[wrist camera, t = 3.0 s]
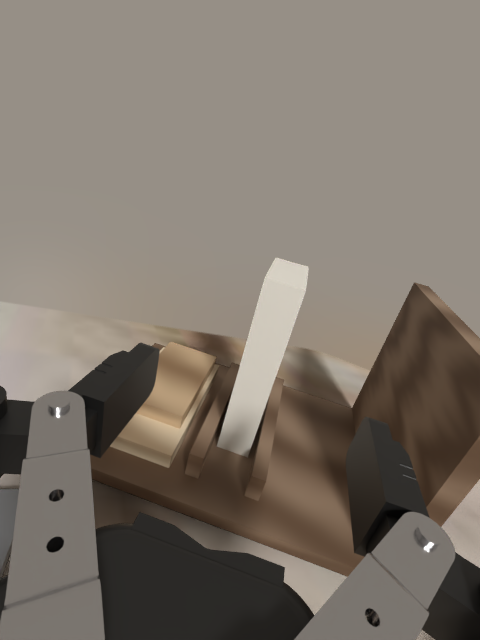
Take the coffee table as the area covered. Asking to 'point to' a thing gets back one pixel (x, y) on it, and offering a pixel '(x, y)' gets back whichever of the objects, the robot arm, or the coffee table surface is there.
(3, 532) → the mat
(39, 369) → the coffee table surface
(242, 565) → the robot arm
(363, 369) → the coffee table surface
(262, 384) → the block
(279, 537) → the rack
